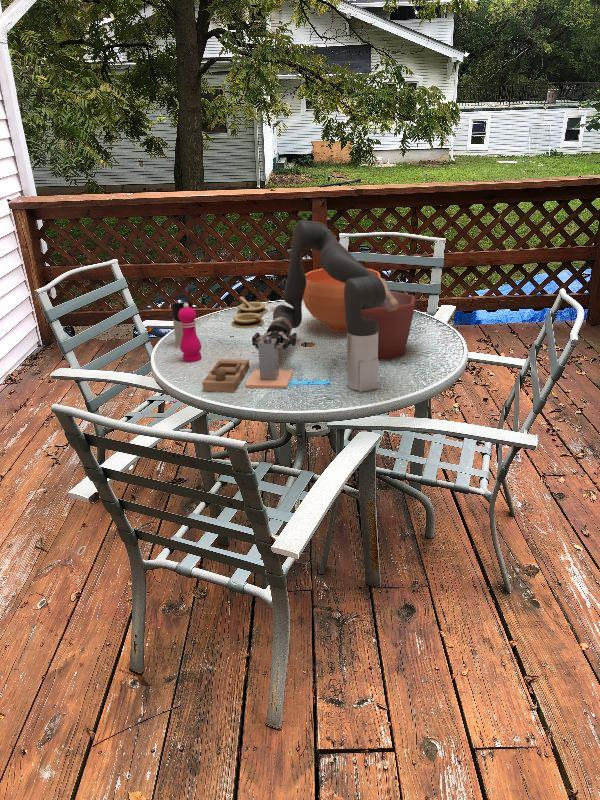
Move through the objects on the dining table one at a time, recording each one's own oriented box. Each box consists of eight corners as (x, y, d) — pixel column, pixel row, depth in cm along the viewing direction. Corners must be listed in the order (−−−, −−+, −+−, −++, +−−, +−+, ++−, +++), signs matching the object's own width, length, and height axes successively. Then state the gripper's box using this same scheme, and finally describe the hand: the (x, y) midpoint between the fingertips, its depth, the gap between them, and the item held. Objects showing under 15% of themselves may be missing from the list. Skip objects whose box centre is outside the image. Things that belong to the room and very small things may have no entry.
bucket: (411, 365, 205) (413, 290, 195) (343, 363, 210) (342, 289, 200) (414, 341, 227) (416, 272, 217) (353, 339, 232) (352, 271, 221)
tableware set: (231, 309, 277) (230, 296, 275) (276, 308, 276) (275, 295, 274) (222, 330, 250) (220, 316, 248) (271, 329, 249) (270, 314, 247)
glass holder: (194, 338, 240) (189, 300, 234) (207, 349, 228) (202, 309, 222) (171, 343, 236) (166, 304, 230) (184, 354, 225) (179, 313, 218)
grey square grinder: (263, 374, 201) (260, 334, 196) (279, 374, 200) (276, 334, 195) (260, 380, 197) (257, 339, 191) (276, 380, 196) (273, 340, 190)
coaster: (254, 372, 206) (254, 369, 205) (293, 372, 204) (293, 369, 203) (245, 387, 194) (245, 384, 194) (286, 388, 192) (286, 385, 192)
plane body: (220, 367, 211) (218, 350, 208) (249, 368, 209) (248, 351, 207) (203, 391, 193) (201, 373, 190) (235, 392, 191) (233, 373, 189)
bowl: (360, 312, 263) (360, 263, 254) (395, 332, 237) (396, 278, 228) (292, 322, 253) (290, 272, 245) (321, 344, 227) (320, 289, 219)
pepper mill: (191, 354, 224) (184, 299, 216) (206, 357, 221) (200, 301, 212) (177, 360, 218) (170, 304, 210) (193, 363, 215) (186, 307, 207)
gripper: (258, 319, 213) (247, 335, 199) (299, 320, 211) (292, 335, 196) (259, 340, 216) (249, 357, 202) (300, 341, 214) (293, 358, 200)
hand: (270, 346), depth 199 cm, fingers open, 8 cm apart
